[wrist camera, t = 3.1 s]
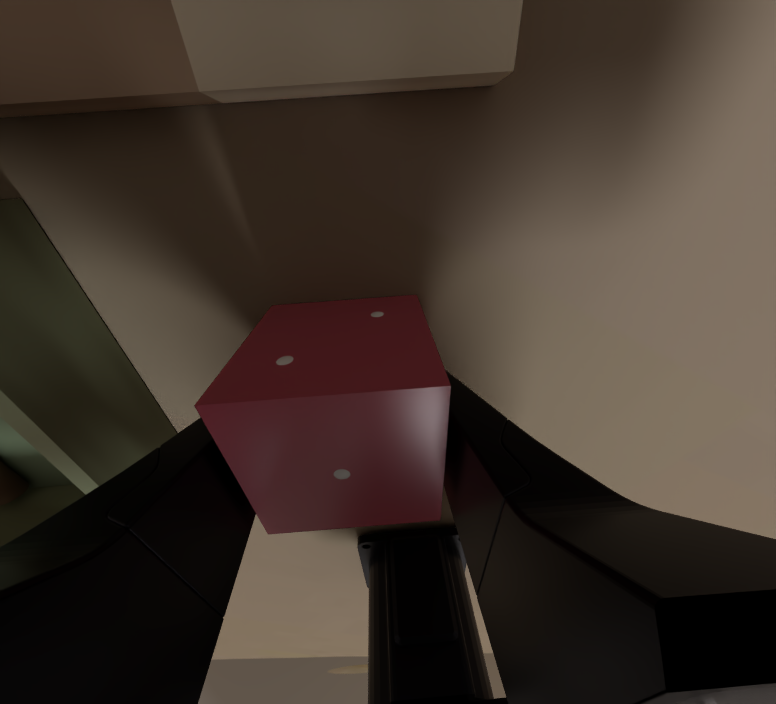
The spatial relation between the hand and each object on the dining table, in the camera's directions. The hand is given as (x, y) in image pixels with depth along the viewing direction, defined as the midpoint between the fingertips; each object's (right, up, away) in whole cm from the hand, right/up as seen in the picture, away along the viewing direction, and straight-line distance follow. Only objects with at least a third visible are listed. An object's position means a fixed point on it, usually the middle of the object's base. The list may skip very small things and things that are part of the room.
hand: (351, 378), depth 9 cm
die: (0, +1, +1) cm, 1 cm away
